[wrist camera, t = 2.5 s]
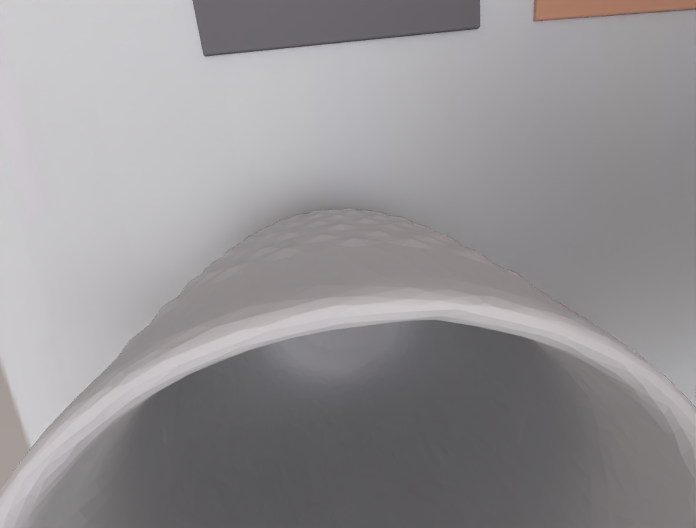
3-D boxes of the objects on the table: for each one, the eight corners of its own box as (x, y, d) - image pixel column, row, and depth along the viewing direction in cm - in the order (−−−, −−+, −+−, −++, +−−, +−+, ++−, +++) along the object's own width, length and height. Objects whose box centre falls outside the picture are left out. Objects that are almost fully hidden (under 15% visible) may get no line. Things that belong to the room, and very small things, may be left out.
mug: (531, 352, 19) (925, 705, 7) (377, 475, 21) (472, 956, 8) (340, 133, 16) (445, 25, 3) (167, 302, 17) (-253, 712, 4)
